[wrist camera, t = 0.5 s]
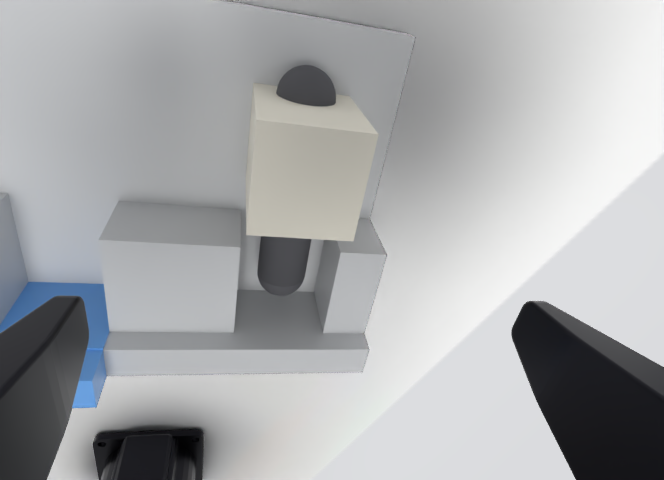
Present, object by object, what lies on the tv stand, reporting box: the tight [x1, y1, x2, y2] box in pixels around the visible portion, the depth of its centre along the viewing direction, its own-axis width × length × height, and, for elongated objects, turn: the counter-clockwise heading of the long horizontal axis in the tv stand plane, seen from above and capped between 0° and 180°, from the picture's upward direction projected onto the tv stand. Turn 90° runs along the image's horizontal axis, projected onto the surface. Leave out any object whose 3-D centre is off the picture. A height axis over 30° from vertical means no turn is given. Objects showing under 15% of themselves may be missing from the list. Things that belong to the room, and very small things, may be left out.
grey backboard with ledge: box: [0, 0, 416, 408], centre depth 16 cm, size 14×18×6 cm
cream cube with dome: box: [246, 65, 379, 296], centre depth 17 cm, size 10×4×4 cm, turn 170°
